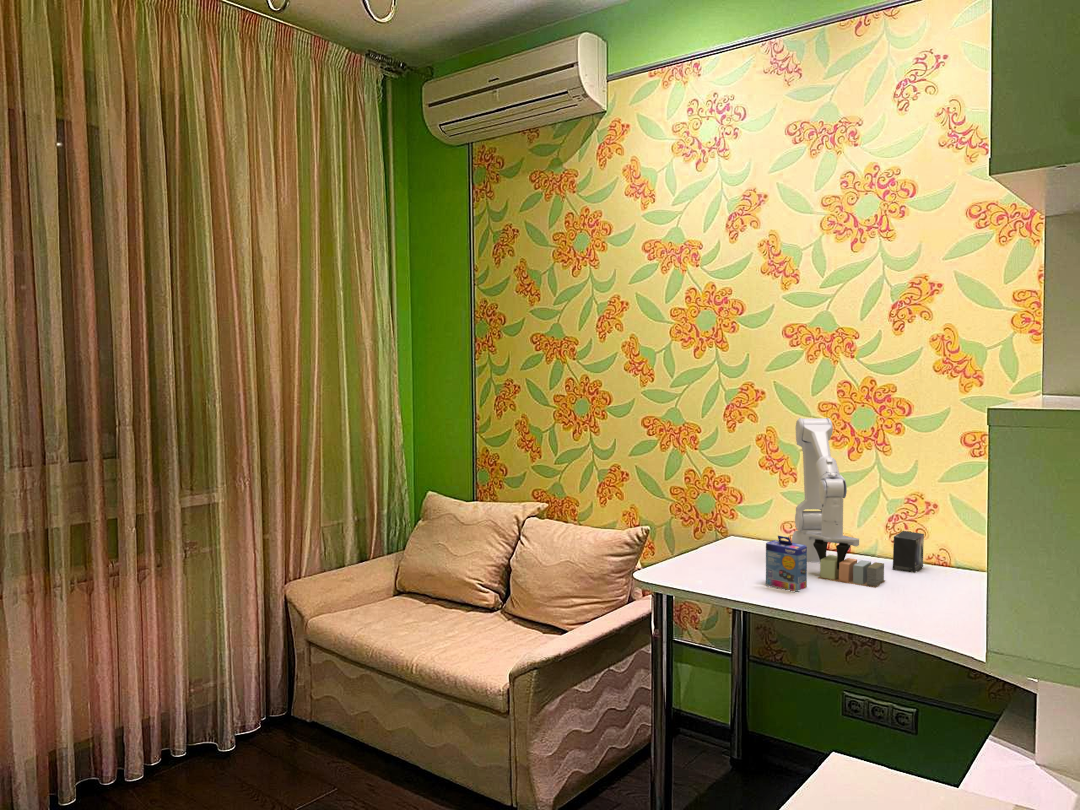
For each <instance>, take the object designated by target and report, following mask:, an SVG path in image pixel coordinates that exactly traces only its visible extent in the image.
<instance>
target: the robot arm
mask: <svg viewBox="0 0 1080 810" xmlns="http://www.w3.org/2000/svg"><path fill="white" fill-rule="evenodd" d="M832 422H833V421H832V420H831V419H830V418H829V417H826V418H825V417H824V418H819V417H817V418H816V417H815V418H813V417H811V418H801V417H798V419H797V420H796V423H795V442H796V445H798V446H799V447H800V448H801V451H802V461H803V463H802V465H803V485H804V487H803V488H804V489H803V490H804V492H803V493H804V500H803V501H801V502H800V503H798V504H797V505H796V507H795V515H794V524H795V528H796V530H794V532H793V534H792V536H791V543H796V544H802V545H806V546H807V563H812V564H818V565H819V564H820V560H821V559H823V558H824V557H826V556H827V549H828V544H829V543H831V544H832V543H833V544H837V545H836V546H835V550H836V556H837V570H839V563H840V562H842V561H843V560H845V559H846V556H847V555H848V554H847V553H848V551H850V548H851V546H853V547H855V548H856V547H859V546H860V538H857V537H851V536H849V535H848V536H847V535H844V499H845V498H846V496H847V491H848V490H847V488H848V487H847V482H846V479H845V477H843V475H841V473H840V471H839V467H838V463H837V460H836V459H835V457H832V455H831V454H832V453H831V449H830V442H829V441H830V440H831V437H832V435H833V432H834V431H833V429H834V428H833V423H832Z"/></svg>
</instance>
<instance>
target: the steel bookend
mask: <svg viewBox="0 0 1080 810" xmlns="http://www.w3.org/2000/svg"><path fill="white" fill-rule="evenodd" d="M884 580H885V563H883V562H877V561H875V562H873V563H871V565H870V566H868V567H867V585H868V586H874V587H876V586H878V585H879V584H880V585H882V584H883V583H884V582H883V581H884ZM882 582H883V583H882ZM881 583H882V584H881ZM880 585H879V586H880ZM879 586H878V587H879ZM876 588H877V587H876Z"/></svg>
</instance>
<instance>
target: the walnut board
mask: <svg viewBox="0 0 1080 810" xmlns="http://www.w3.org/2000/svg"><path fill="white" fill-rule="evenodd" d="M817 579H818V580H819V579H820V580H825V581H832V582H837V583H842V584H849V585H850V584H851V585H855V586H856V585H857V586H861V587H867V588H874V589H876V588H878V587H879V586H881V585H882V584H884V583H885V582H886V580H885V579H884V581H883V582H882V583H881V584H879V585H878V586H876V587H874V586H868V585H867V582H866V583H864V584H863V585H862V584H856V583H853V579H852V580H851V581H849V582H844V581H839V577H838V578H836V579H828V578H822V577H820V576H819V577H817Z"/></svg>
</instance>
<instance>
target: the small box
mask: <svg viewBox="0 0 1080 810" xmlns="http://www.w3.org/2000/svg"><path fill="white" fill-rule="evenodd" d="M924 537H925V534H924V533H921V532H920V533H919V532H914V531H907V530H902V531H900V532H899V533H897V534H895V535H894V536H893V546H892V548H893V549H892V551H893V554H892V569H891V570H893V571H898V572H904V573H911V574H915V573H916V572H917V573H918V572H920V570H922V569H923V568H924V547H925V546H924V542H925V540H924ZM922 567H923V568H922Z"/></svg>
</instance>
